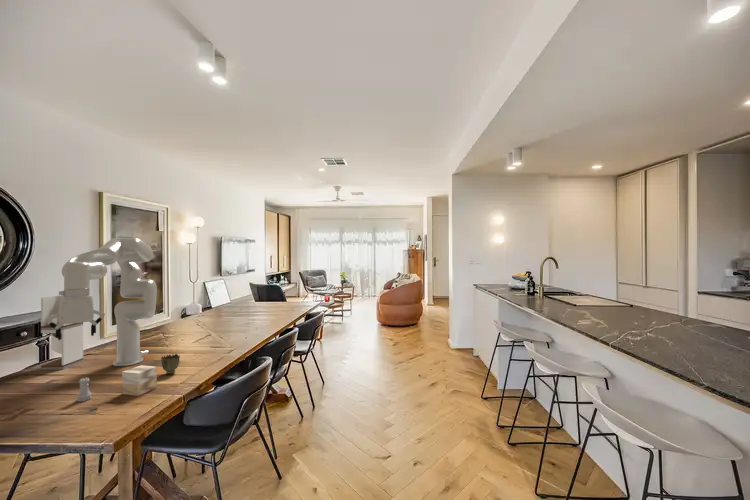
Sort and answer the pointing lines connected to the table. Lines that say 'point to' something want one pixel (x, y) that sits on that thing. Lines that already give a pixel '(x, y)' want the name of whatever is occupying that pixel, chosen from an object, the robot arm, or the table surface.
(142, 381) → the tower top
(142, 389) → the tower base
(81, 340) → the display case
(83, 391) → the rook chess piece
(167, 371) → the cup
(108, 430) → the table surface
